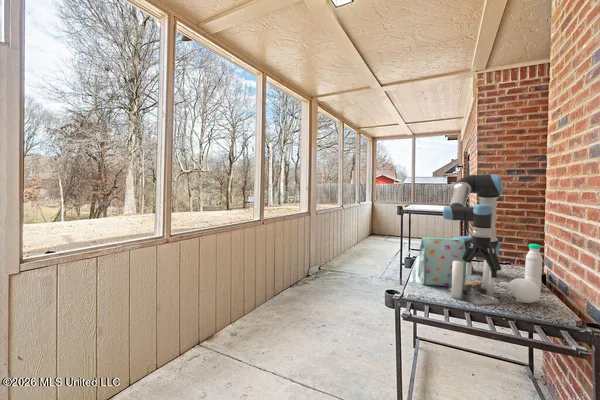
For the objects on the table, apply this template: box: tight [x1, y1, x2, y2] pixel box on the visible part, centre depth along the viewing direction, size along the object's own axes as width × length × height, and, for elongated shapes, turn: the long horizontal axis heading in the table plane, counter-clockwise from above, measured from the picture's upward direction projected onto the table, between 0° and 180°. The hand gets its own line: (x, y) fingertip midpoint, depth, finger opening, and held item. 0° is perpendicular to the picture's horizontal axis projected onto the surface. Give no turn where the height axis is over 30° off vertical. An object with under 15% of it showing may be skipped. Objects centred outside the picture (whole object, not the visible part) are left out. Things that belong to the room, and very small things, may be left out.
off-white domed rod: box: [481, 259, 495, 298], centre depth 138 cm, size 5×5×18 cm
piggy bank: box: [499, 277, 542, 304], centre depth 133 cm, size 12×12×15 cm
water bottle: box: [524, 243, 544, 292], centre depth 149 cm, size 7×7×25 cm
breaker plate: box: [448, 287, 500, 306], centre depth 137 cm, size 18×12×4 cm, turn 11°
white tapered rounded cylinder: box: [449, 261, 464, 301], centre depth 135 cm, size 5×5×18 cm
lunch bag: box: [417, 236, 467, 288], centre depth 156 cm, size 23×16×27 cm
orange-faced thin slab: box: [464, 282, 482, 292], centre depth 137 cm, size 1×9×4 cm, turn 101°
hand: (479, 279), depth 133 cm, fingers open, 13 cm apart
